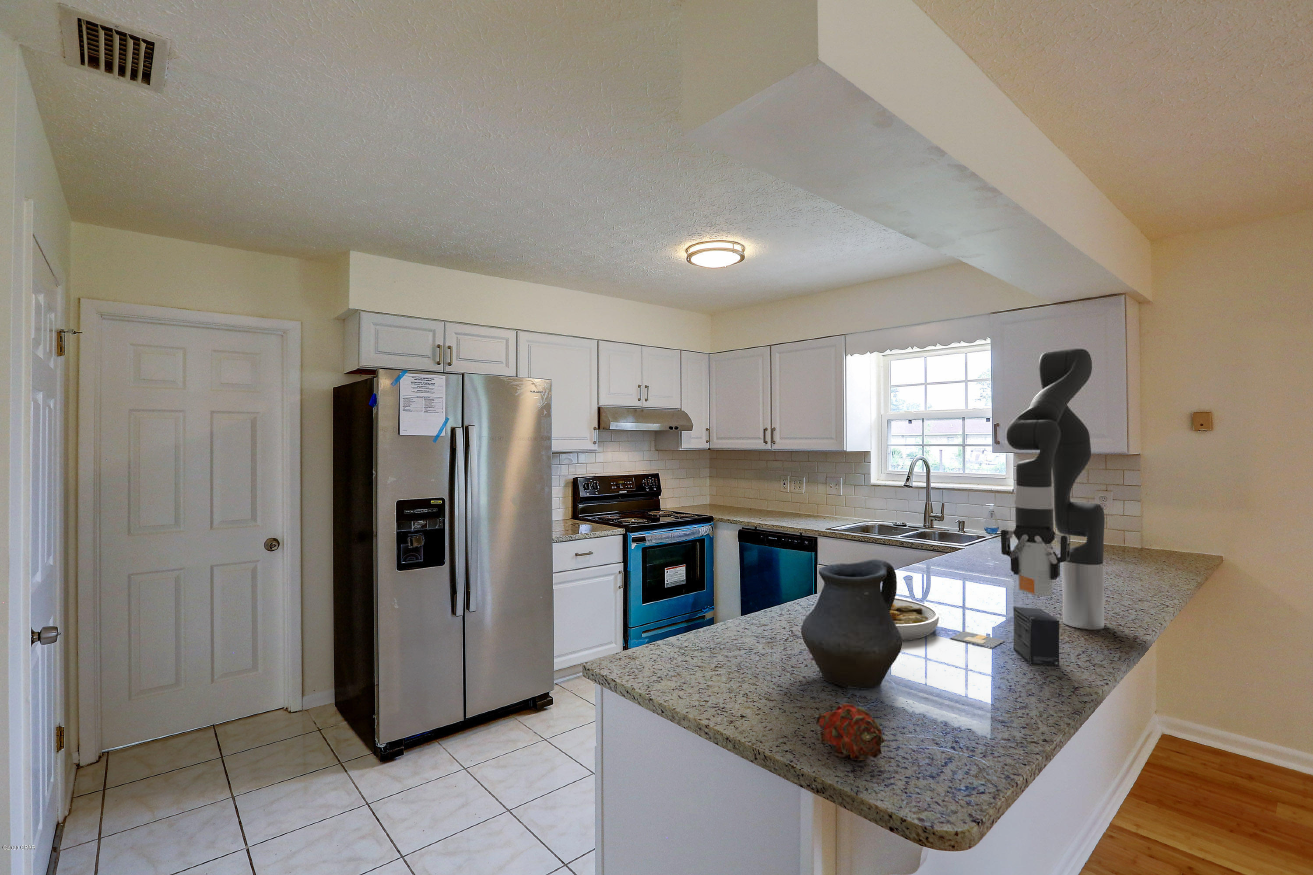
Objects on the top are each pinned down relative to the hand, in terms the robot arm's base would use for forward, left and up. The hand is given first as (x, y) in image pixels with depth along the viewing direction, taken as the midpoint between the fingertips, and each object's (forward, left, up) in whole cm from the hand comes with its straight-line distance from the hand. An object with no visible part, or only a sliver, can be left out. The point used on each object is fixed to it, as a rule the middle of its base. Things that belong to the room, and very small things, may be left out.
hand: (1034, 576), depth 142 cm
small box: (0, 0, -19) cm, 19 cm away
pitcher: (+43, -21, -19) cm, 52 cm away
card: (-3, -14, -19) cm, 24 cm away
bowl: (+4, -37, -19) cm, 42 cm away
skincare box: (0, 0, -4) cm, 4 cm away
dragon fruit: (+71, -5, -19) cm, 74 cm away
